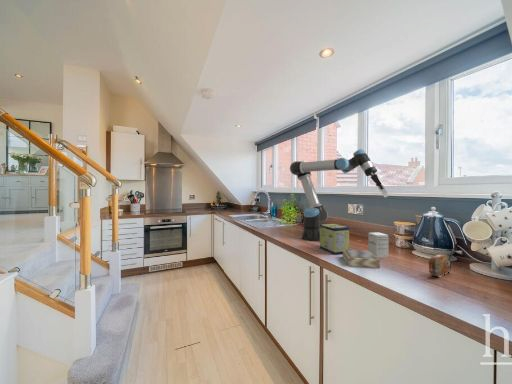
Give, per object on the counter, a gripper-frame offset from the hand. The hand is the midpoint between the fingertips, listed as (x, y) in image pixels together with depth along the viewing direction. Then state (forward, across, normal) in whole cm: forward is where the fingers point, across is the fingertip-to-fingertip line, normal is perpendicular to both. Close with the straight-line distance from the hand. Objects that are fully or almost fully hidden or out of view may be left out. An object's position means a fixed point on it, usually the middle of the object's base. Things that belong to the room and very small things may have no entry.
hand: (386, 195), depth 134 cm
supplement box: (+32, -18, +20) cm, 42 cm away
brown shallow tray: (+31, -35, +28) cm, 54 cm away
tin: (+46, -33, 0) cm, 56 cm away
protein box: (+21, -22, +41) cm, 51 cm away
